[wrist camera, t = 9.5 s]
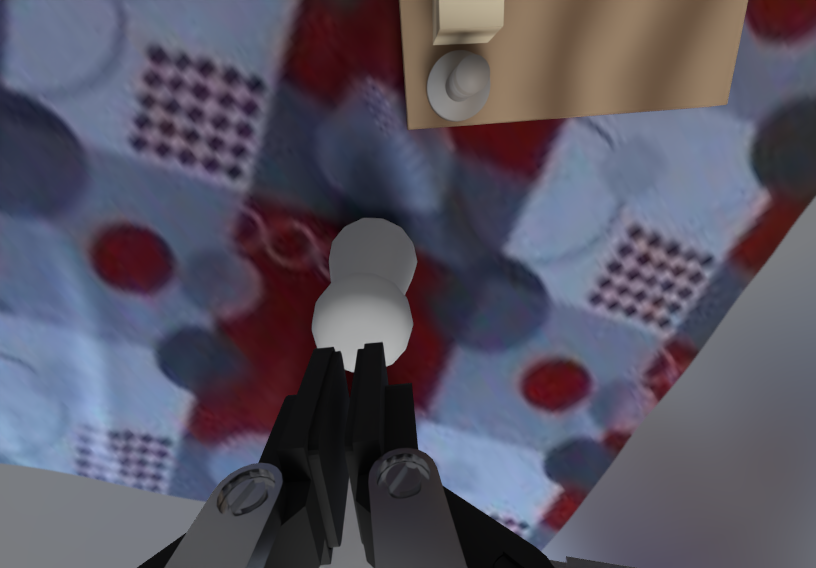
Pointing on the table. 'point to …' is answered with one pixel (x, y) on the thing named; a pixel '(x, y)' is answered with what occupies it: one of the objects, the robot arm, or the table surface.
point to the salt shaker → (367, 291)
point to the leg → (466, 21)
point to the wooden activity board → (572, 61)
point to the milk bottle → (349, 541)
